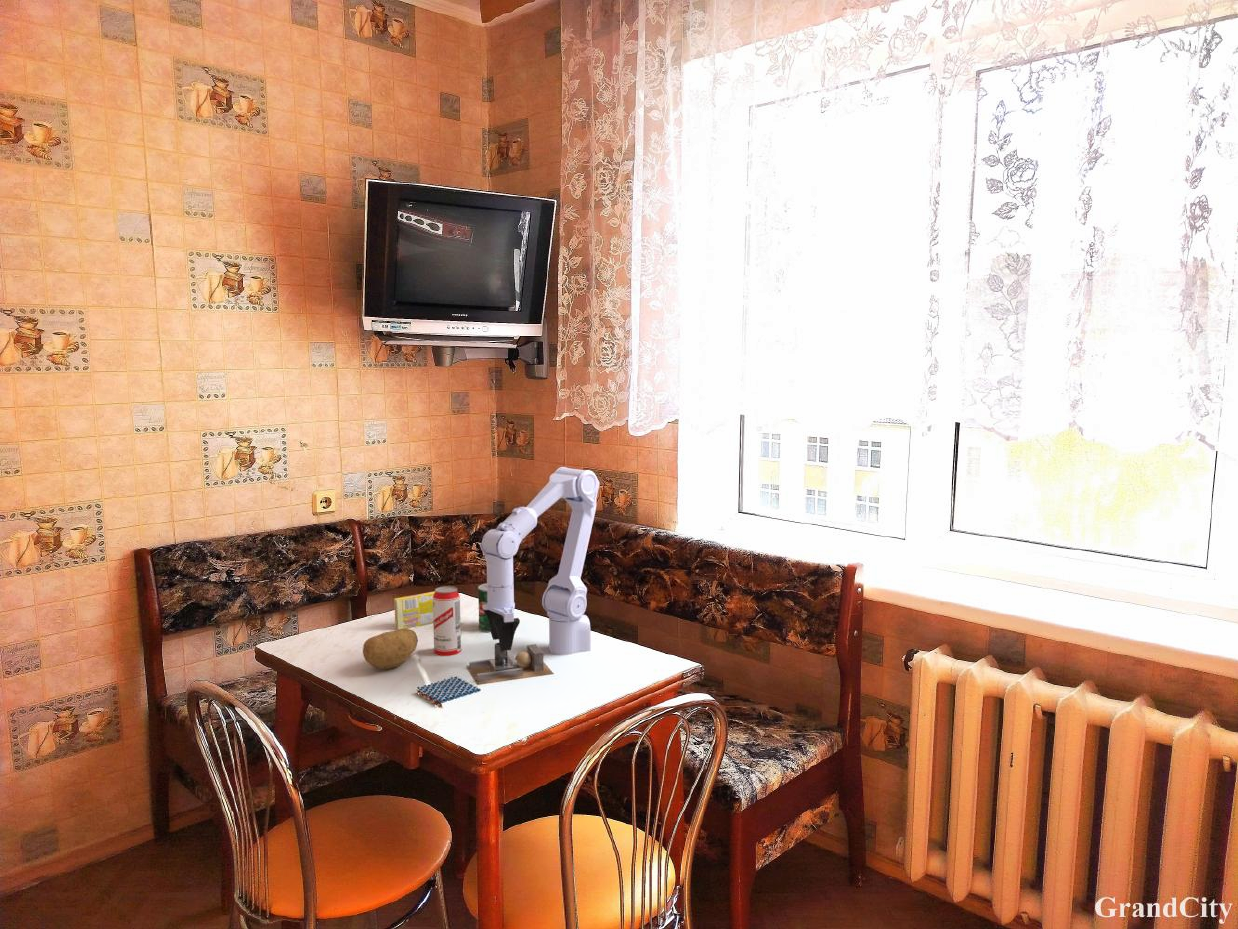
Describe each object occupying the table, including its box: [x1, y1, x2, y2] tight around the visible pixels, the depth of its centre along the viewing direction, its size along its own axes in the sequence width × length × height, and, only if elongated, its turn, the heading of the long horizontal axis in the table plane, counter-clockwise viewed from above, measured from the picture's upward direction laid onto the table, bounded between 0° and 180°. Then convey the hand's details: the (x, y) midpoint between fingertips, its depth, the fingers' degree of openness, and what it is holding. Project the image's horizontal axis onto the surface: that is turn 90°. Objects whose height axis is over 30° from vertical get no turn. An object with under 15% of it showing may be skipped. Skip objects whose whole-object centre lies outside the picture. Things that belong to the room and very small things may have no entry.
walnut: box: [514, 651, 531, 668], centre depth 190 cm, size 4×4×4 cm
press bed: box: [465, 643, 555, 686], centre depth 189 cm, size 17×12×5 cm
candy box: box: [393, 590, 435, 630], centre depth 224 cm, size 16×2×8 cm, turn 126°
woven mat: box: [416, 676, 481, 708], centre depth 178 cm, size 10×11×2 cm
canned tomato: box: [477, 582, 491, 633], centre depth 221 cm, size 8×8×11 cm
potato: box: [362, 628, 419, 669], centre depth 194 cm, size 10×14×8 cm
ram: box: [489, 642, 517, 672], centre depth 188 cm, size 5×6×6 cm
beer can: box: [432, 585, 462, 657], centre depth 200 cm, size 6×6×16 cm
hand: (501, 644), depth 188 cm, fingers open, 7 cm apart
